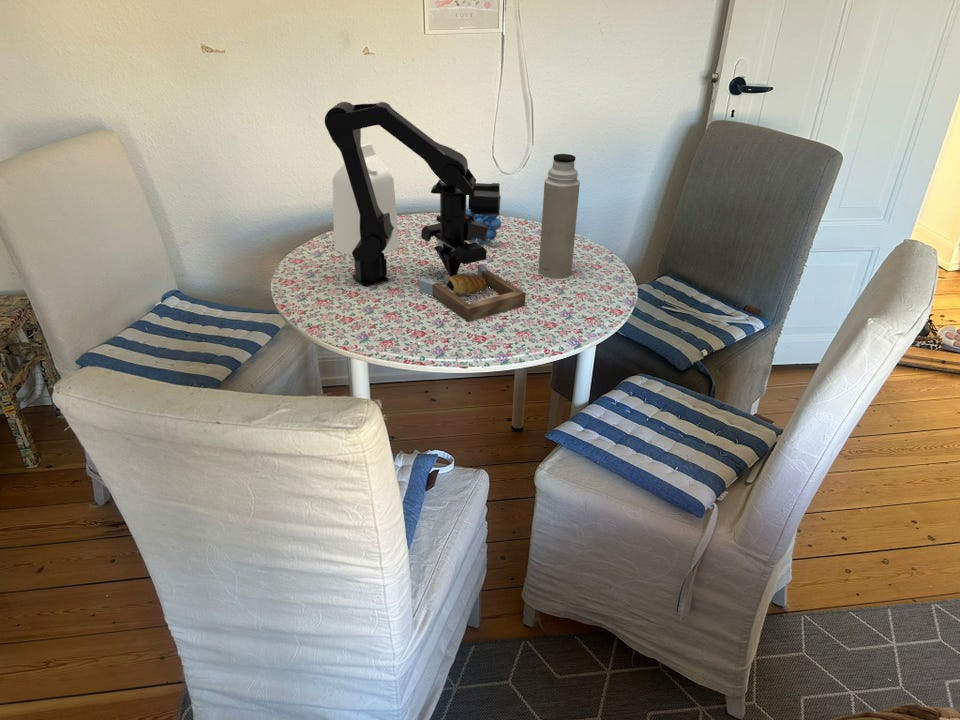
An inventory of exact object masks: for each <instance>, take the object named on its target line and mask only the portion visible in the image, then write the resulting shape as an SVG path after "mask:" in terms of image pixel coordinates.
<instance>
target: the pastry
mask: <svg viewBox="0 0 960 720" xmlns="http://www.w3.org/2000/svg"><path fill="white" fill-rule="evenodd" d="M444 287H445V288H446V289H448V290H449V291H451V292H452V293H454V294H455V295H457V296H458V297H459V296H460V297H465V296H472V295H471V294H473V295H475V293H476V294H478V293H477V292H479V293H481V292H480V291H482V292H483V290H484V291H485V290H486V289H487V288H488V287H487V282H486V280H485V279H484V278H483V277H480V276H478V275H477V276H476V275H473V274H464V273H460V274H457V275H453V276H452V277H450V276H448V277H447V279H446V280H445V283H444Z"/></svg>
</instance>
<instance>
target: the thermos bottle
mask: <svg viewBox="0 0 960 720" xmlns="http://www.w3.org/2000/svg"><path fill="white" fill-rule="evenodd" d="M552 158H553V161H552V167H550V168H549V169H548V170H547V171H548V172H547V177H546V178H545V179H544V187H543V188H544V189H543V198H542V199H543V200H542V216H541V227H540V228H541V231H540V241H539V242H540V245H539V258H538V259H539V261H538V273H539V274H540V275H541V274H542V276H543V275H544V277H546V278H551V279H565V278H568V277H569V276H571V274H572V272H573V260H574V259H573V258H574V249H575V236H576V227H577V218H578V207H579V195H580V186H581V183H580V180H579V179H578V176H579V173H578V170H577V169H575V161H576V156H575V155H573V154H568V153H558V154H554V155H553V156H552Z"/></svg>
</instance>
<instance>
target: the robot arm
mask: <svg viewBox="0 0 960 720" xmlns="http://www.w3.org/2000/svg"><path fill="white" fill-rule="evenodd" d="M324 125H325V128H326V129H327V131H328V134H329V136H330V139H331V141H332V142H333V143H334V144H335V146H336V147H337V148H338V149H339V151H340V154H341V156H342V159H343V164H345V167H346V170H347V173H348V177H349V180H350V183H351V187H352V190H353V193H354V197H355V200H356V203H357V207H358V210H359V214H360V237H361V239H360V241H359V242H358V244H357V245H356V247H355V249H354V250H353V252H352V255H353V256H352V257H353V260H354V262H353V263H354V274H352V278H353V279H354V280H355V281H356V282H358V283H359V284H360V285H361V286H363V287H368V286H373V285H377V284H381V283H385V282H389V281H390V280H389V277H387V275H388V269H387V268H388V266H387V265H388V264H387V263H388V261H387V259H386V258H385V253H382V251H384V249H385V248H386V246H387V244H388V242H389V241H390V239H391V236H392V231H393V229H394V227H393V226H392V224H391V222H390V214H389V213H385V214H383V213H382V212H381V210H380V209H379V207H378V204H377V201H376V197H375V194H374V190H373V187H372V183H371V180H370V176H369V173H368V169H367V166H366V162H365V159H364V155H363V152H362V148H361V145H362V143H361V141H362V140H361V139H362V138H361V137H362V136H361V135H362V133H361V132H362V129H364V128H369V127H373V126H374V127H375V126H380V127H381V128H382V129H383V130H385V131H386V132H387V133H389V135H392V136H393V137H394V138H395V139H396V140H398V141H399V142H400V143H402V144H403V145H404V146H405V147H407V148H408V149H410V150H411V151H412V152H413V153H415V154H416V155H417V156H419V157H420V158H421V159H422V160H423V161H424V162H425V163H426V164H427V165H428V167H429V169H430V170H431V171H432V172H433V173H434V174H435V176H436V177H437V178H438V181H437V183H435V184H434V185H433V186H432V188H431V190H430V193H431V194H438V195H439V198H440V199H439V202H440V203H439V204H440V205H439V215H436V216H435V217H436V219H435V220H436V222H438V223H434V224H430V225H425V226H424V227H423V228H422V229H421V230H420V233H421V236H420V238H421V239H422V240H423V241H425V242H430V241H431V240H432V237H434V238H436V239H435V241H436V246H434V247H433V248H434V250H435V251H436V253H437V255H438V256H439V258H440V260H441V262H442V264H443V265H444V268H445V270H446V272H447V274H448V277H452V276H453V275H458V272H459V270H460V266H461V265H469V264H473V263H477V262H481V261H485V260H487V253H488V252H487V249H486V248H485V247H484V246H483V245H481V244H480V243H479V244H478V243H477V242H470V241H472V238H477V239H481V240H483V241H484V240H485V238H486V235H487V231H488V228H489V227H487V226H485V225H483V224H482V223H479V222H477V221H474V216H472V215H470V214H466V209H467V196H468V209H471V212H473V214H477V215H496V216H497V217H499V216H500V210H501V197H502V196H501V195H500V194H501V190H500V189H501V188H500V187H501V186H500V183H499V182H497V183H495V182H493V183H492V182H491V183H481V182H480V183H479V182H477V179H476V178H475V176H474V174H473V173H472V172H471V171H470V169H469V164H468V160H467V157H465V155H464V154H462V153H461V152H458V151H456V150H455V149H453V148H451V147H450V146H447V145H444V144H441V143H440V142H437V141H435V140H434V139H432V138H431V137H430V136H429V135H428V134H427V133H425V132H423V131H422V130H421V129H420V128H418V127H417V126H416V125H415V124H413V123H412V122H411V121H409V120H407V118H405V117H404V116H403V115H401V113H399V112H398V111H396V110H395V109H394V108H393V107H392V106H391V105H390V104H389V103H387V102H385V101H379V102H376V103H375V102H374V103H359V104H358V103H357V104H352V103H350V102H348V101H340V102H338V103H337V104H335V105H334V106H333V107H332V108H330V109H329V110H328V111H327V112H326V114H325V117H324ZM477 239H476V240H477Z"/></svg>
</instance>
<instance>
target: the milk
mask: <svg viewBox="0 0 960 720" xmlns="http://www.w3.org/2000/svg"><path fill="white" fill-rule="evenodd" d="M361 148H362V152H363V155H364V159H365V162H366V166H367V169H368V173H369V176H370V180H371V183H372V187H373V190H374V194H375V197H376V201H377V204H378V207H379V209H380V210H381V212H382V213H383V214H385V213H389V214H390V222H391V224H392V226H393V227H394V229H393V231H392V236H391V239H390V241H389V242H388V244H387V246H386V248H385V249H384V251H382V253H384V254H387V253H389V252H392V251H394V250H396V249H399V248H400V239H399V229H398V228H399V227H398V216H397V204H396V193H395V192H396V191H395V182H394V177H393V174H392V173H391V172H390V170H389V169H388V168H387V167H386V165H385V164H384V163H383V161H381V159H380V157H378V156H377V155H376V152H375V150H374V147H373V144H371V143H368V142H367V143H363V144H361ZM332 208H333V209H332V213H333V214H332V217H333V219H332V220H333V223H332V224H333V250H334V251H336V252H339V253H342V254H345V255H347V256H350V257H353V255H352V252H353V250H354V249H355V247H356V245H357V244H358V242H359V241H360V239H361V237H360V214H359V210H358V207H357V203H356V200H355V197H354V193H353V190H352V187H351V183H350V180H349V177H348V173H347V170H346V167H345V163H343V164H342V166H341V167H339V169H338V170H337V171H335V173H334V175H333V178H332Z"/></svg>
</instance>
